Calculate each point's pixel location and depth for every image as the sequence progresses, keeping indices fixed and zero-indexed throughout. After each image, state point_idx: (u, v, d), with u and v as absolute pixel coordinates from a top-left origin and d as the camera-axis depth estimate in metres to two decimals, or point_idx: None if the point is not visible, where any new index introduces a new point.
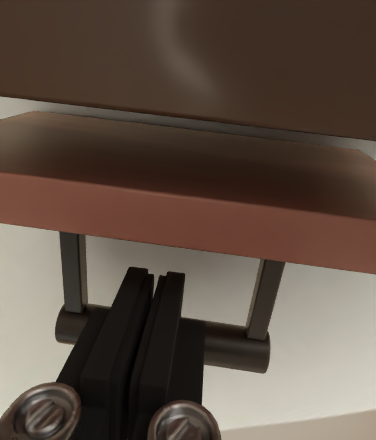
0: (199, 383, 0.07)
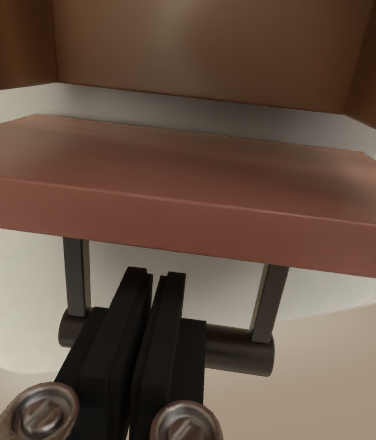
0: (200, 383, 0.07)
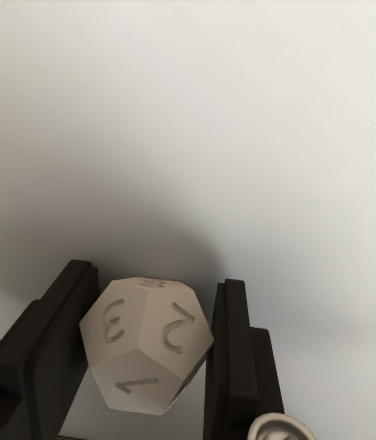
0: (277, 394, 0.07)
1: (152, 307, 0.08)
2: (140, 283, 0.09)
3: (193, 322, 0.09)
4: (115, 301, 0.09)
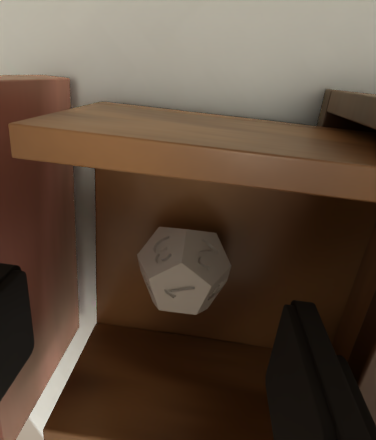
0: None
1: (189, 240, 0.12)
2: None
3: (216, 253, 0.12)
4: (162, 238, 0.12)
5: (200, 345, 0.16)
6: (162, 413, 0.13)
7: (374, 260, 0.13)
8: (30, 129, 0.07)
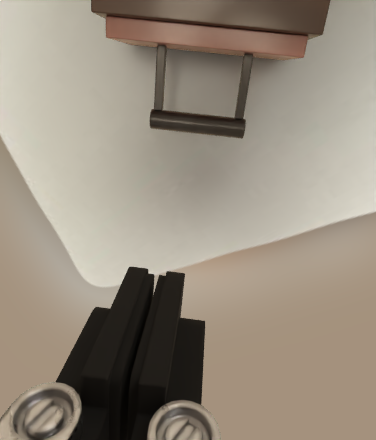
0: (198, 383, 0.07)
1: None
2: None
3: None
4: None
5: None
6: None
7: None
8: None
